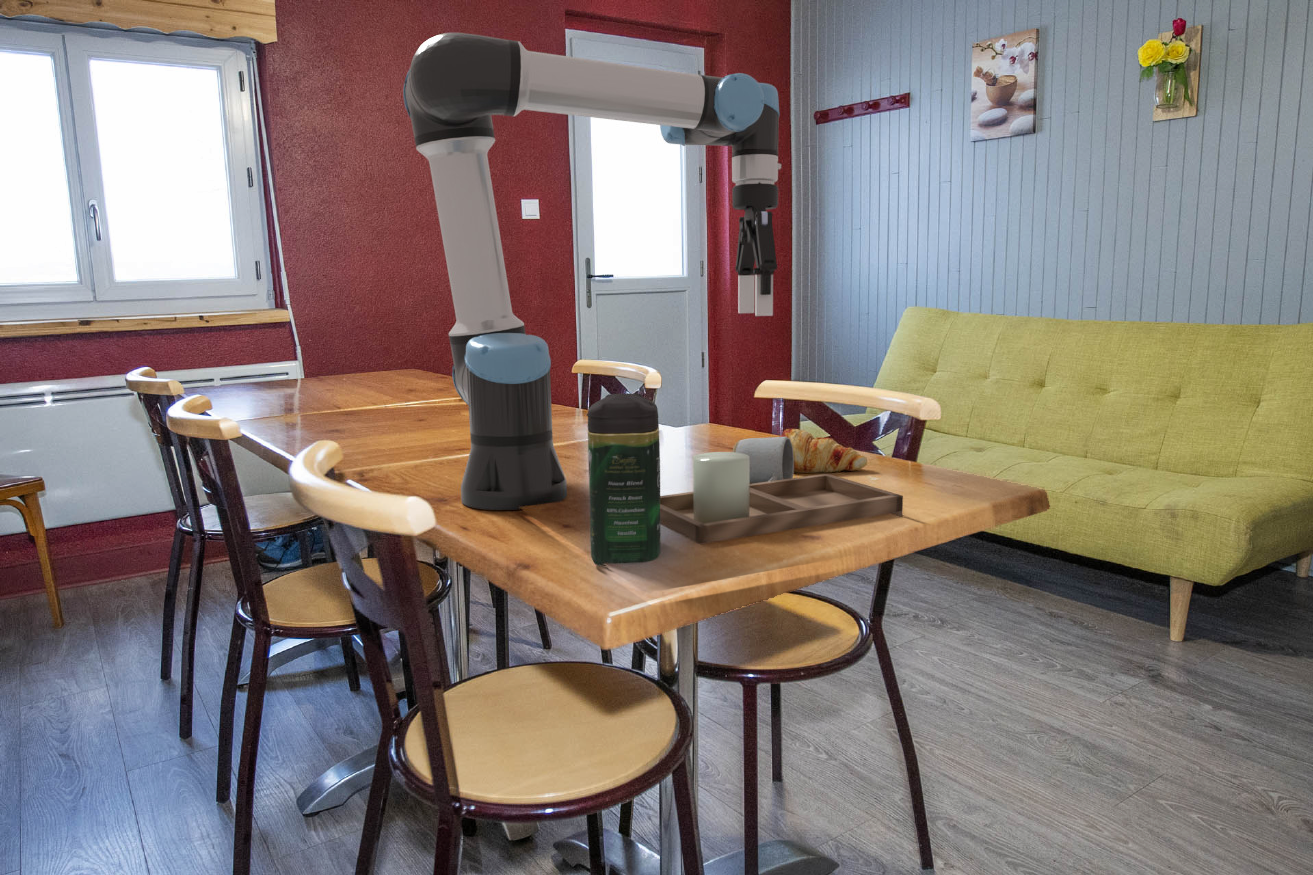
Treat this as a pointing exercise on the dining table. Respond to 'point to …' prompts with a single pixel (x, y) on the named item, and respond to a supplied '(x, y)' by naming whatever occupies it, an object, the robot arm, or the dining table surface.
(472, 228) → the robot arm
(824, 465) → the croissant
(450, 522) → the dining table surface
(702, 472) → the pale green pillar candle
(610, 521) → the coffee jar
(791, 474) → the ceramic mug
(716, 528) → the caddy
